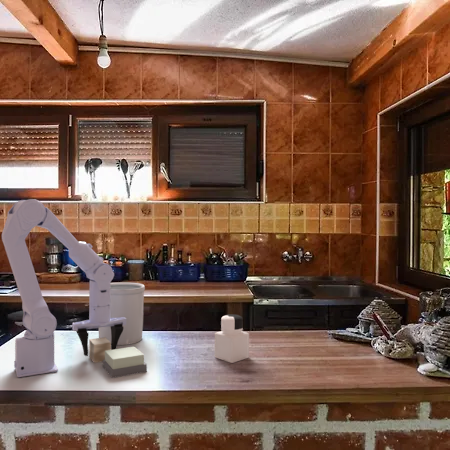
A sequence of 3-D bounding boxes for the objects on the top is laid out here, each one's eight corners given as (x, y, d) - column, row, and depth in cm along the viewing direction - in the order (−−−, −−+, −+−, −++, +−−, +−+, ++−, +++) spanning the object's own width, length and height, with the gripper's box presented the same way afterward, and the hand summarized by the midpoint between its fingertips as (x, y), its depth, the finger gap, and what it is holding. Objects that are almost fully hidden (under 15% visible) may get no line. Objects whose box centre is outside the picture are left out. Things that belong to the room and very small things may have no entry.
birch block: (94, 363, 121) (94, 344, 121) (89, 356, 126) (89, 339, 126) (110, 360, 123) (110, 342, 123) (105, 354, 128) (105, 337, 128)
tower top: (113, 369, 110) (113, 359, 110) (104, 360, 117) (104, 350, 117) (143, 364, 114) (143, 354, 114) (134, 355, 121) (134, 346, 121)
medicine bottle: (231, 352, 131) (231, 311, 131) (249, 357, 126) (249, 315, 126) (213, 357, 126) (214, 315, 126) (231, 363, 121) (232, 319, 121)
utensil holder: (147, 333, 151) (147, 282, 151) (140, 346, 136) (140, 289, 136) (104, 333, 151) (104, 281, 150) (92, 346, 136) (92, 289, 136)
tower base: (111, 380, 110) (111, 370, 110) (102, 369, 118) (102, 359, 118) (146, 373, 114) (146, 364, 114) (135, 363, 122) (135, 354, 122)
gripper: (75, 310, 117) (75, 361, 118) (129, 305, 124) (129, 353, 125) (70, 305, 123) (70, 353, 124) (122, 300, 130) (122, 346, 131)
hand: (99, 353), depth 125 cm, fingers open, 7 cm apart
